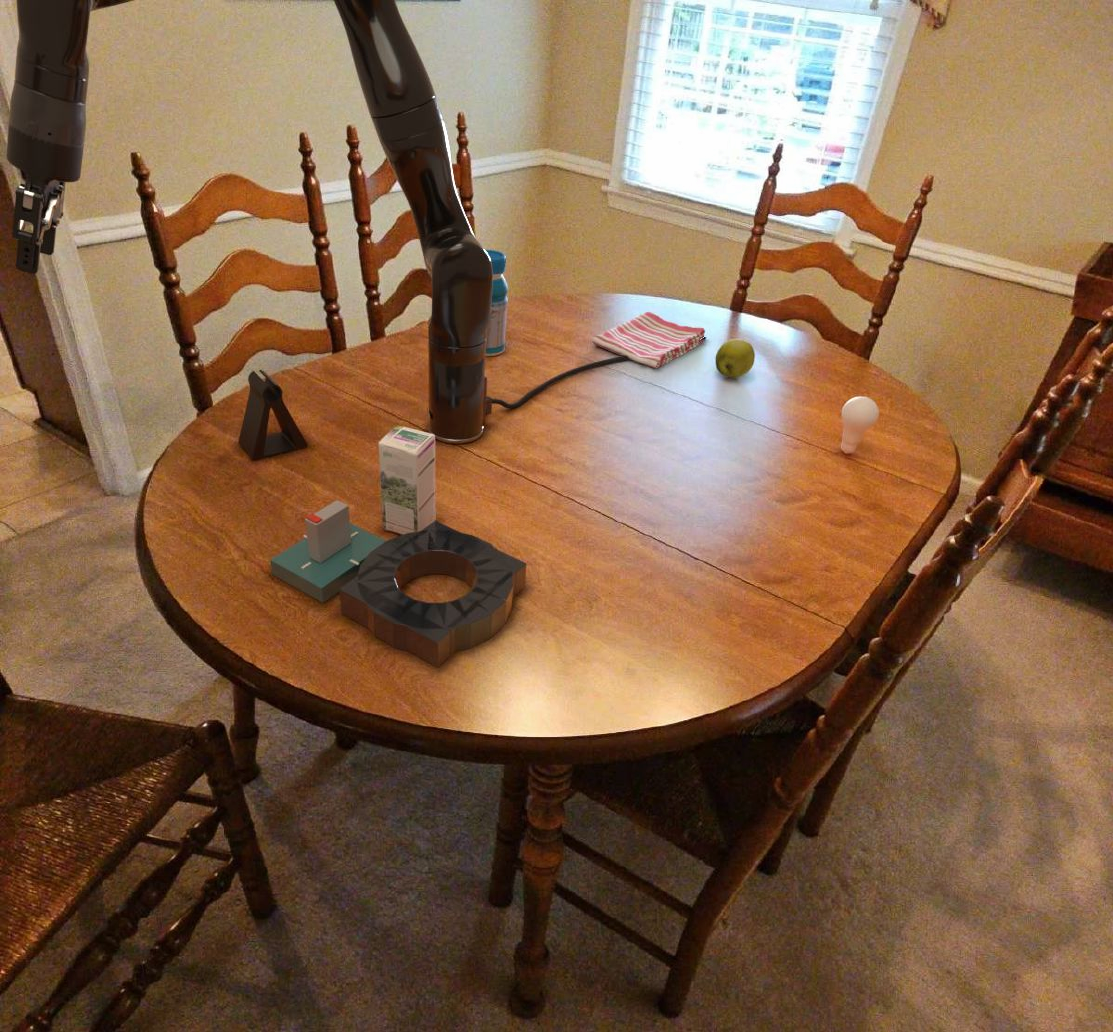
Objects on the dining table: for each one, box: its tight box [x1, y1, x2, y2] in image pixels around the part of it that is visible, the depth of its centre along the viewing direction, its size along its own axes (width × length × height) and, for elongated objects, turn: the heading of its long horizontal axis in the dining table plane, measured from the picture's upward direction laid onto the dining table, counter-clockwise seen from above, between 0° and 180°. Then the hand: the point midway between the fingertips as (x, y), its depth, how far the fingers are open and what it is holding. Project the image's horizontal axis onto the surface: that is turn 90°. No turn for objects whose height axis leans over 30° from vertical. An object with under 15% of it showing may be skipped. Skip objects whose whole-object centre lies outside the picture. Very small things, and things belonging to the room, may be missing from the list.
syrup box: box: [377, 424, 437, 536], centre depth 105 cm, size 6×6×14 cm
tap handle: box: [304, 499, 351, 563], centre depth 98 cm, size 6×2×6 cm, turn 148°
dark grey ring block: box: [338, 520, 527, 668], centre depth 96 cm, size 19×19×4 cm
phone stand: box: [238, 369, 309, 462], centre depth 120 cm, size 9×6×12 cm, turn 128°
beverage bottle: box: [485, 249, 509, 357], centre depth 157 cm, size 8×8×20 cm
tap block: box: [269, 522, 387, 604], centre depth 100 cm, size 12×10×3 cm
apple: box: [715, 338, 756, 379], centre depth 161 cm, size 8×9×8 cm
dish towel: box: [591, 311, 706, 370], centre depth 172 cm, size 17×23×4 cm
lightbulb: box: [840, 396, 880, 455], centre depth 136 cm, size 6×6×11 cm
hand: (35, 261), depth 99 cm, fingers open, 8 cm apart
